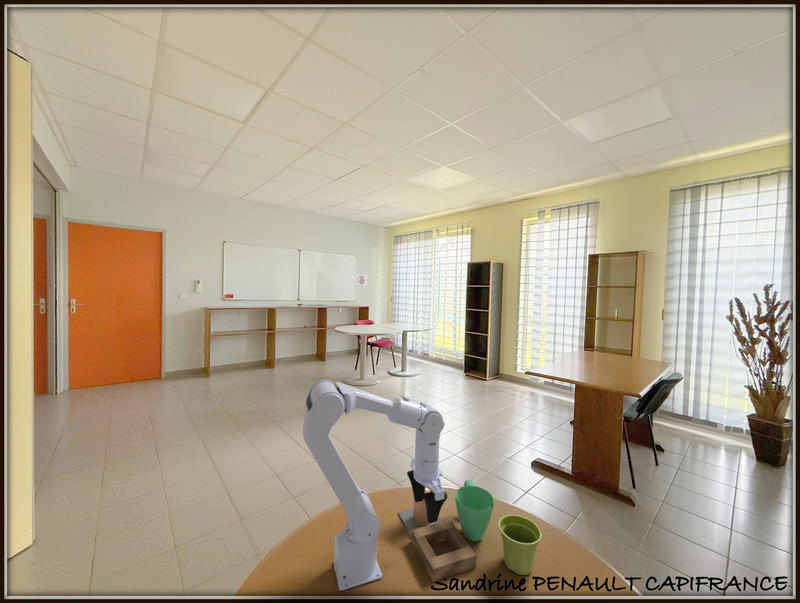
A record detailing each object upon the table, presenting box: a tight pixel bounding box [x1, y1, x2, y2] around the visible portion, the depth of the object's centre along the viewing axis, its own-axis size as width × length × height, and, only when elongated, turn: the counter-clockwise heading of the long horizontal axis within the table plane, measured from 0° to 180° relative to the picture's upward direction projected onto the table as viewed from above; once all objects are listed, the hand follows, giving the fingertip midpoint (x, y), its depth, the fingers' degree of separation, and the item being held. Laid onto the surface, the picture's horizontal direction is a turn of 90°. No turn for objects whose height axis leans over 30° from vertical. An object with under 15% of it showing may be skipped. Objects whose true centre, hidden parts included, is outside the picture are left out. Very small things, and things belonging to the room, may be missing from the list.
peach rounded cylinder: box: [412, 487, 430, 526], centre depth 89 cm, size 5×5×9 cm
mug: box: [454, 479, 495, 542], centre depth 87 cm, size 15×10×10 cm
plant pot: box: [497, 514, 543, 576], centre depth 76 cm, size 9×9×9 cm
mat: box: [398, 508, 443, 537], centre depth 89 cm, size 10×10×1 cm
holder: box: [410, 519, 477, 583], centre depth 78 cm, size 11×12×3 cm
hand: (425, 510), depth 79 cm, fingers open, 7 cm apart
